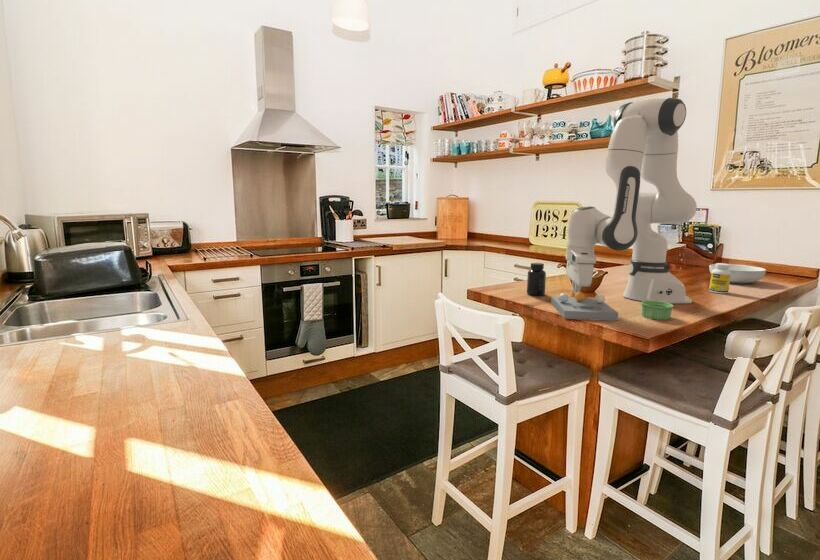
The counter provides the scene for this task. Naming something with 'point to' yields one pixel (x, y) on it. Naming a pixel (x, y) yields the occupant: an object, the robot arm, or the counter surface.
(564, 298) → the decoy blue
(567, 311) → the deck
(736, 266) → the serving bowl
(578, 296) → the ball
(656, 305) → the ramekin
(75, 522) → the counter surface
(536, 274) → the supplement bottle
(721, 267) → the pill bottle
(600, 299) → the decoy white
